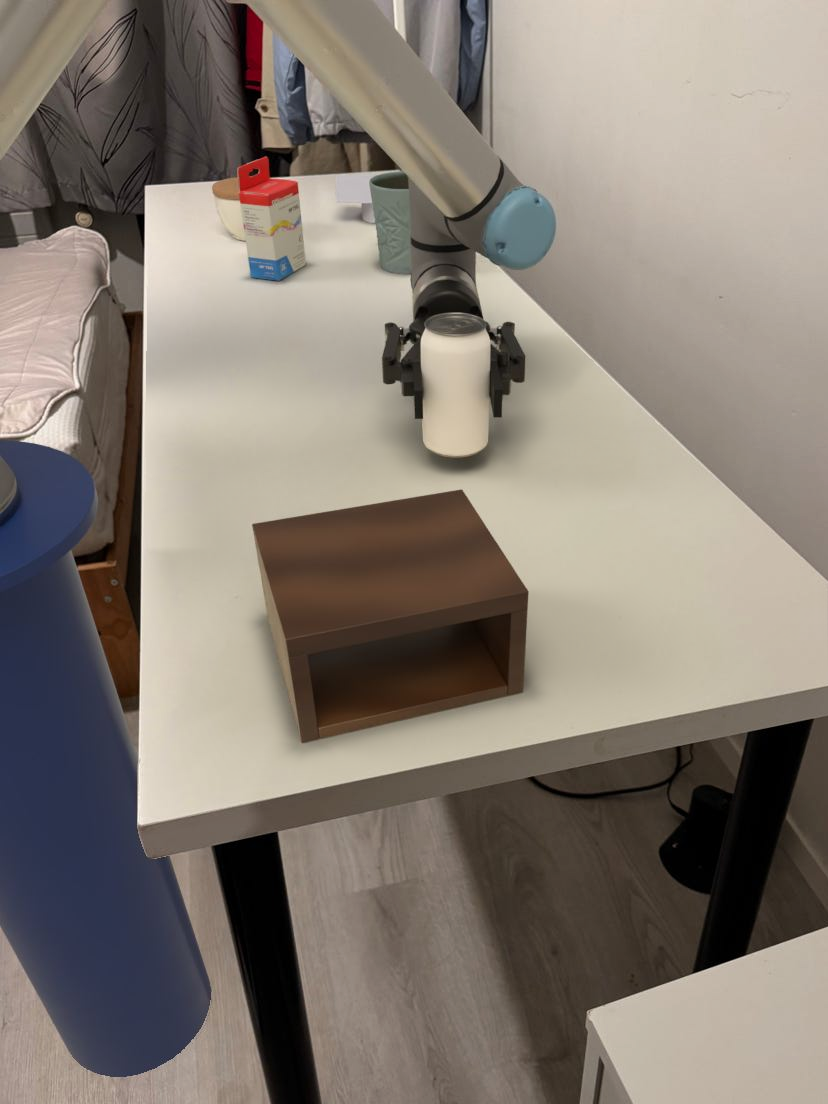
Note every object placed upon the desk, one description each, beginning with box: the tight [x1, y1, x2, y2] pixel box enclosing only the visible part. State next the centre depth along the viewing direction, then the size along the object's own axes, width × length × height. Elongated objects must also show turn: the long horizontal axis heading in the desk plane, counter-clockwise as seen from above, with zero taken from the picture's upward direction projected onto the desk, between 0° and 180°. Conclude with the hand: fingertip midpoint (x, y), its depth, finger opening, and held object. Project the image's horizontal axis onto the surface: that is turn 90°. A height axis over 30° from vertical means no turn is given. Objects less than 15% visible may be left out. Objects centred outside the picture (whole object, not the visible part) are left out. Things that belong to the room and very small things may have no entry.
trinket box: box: [211, 175, 272, 242], centre depth 148 cm, size 11×11×9 cm
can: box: [421, 313, 491, 458], centre depth 88 cm, size 6×6×12 cm
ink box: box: [236, 155, 307, 282], centre depth 133 cm, size 8×5×15 cm, turn 160°
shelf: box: [251, 488, 529, 744], centre depth 67 cm, size 14×16×9 cm
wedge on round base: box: [334, 174, 377, 224], centre depth 159 cm, size 9×7×13 cm
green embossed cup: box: [369, 170, 411, 275], centre depth 137 cm, size 10×10×12 cm
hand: (458, 404), depth 83 cm, fingers closed on can, 6 cm apart
